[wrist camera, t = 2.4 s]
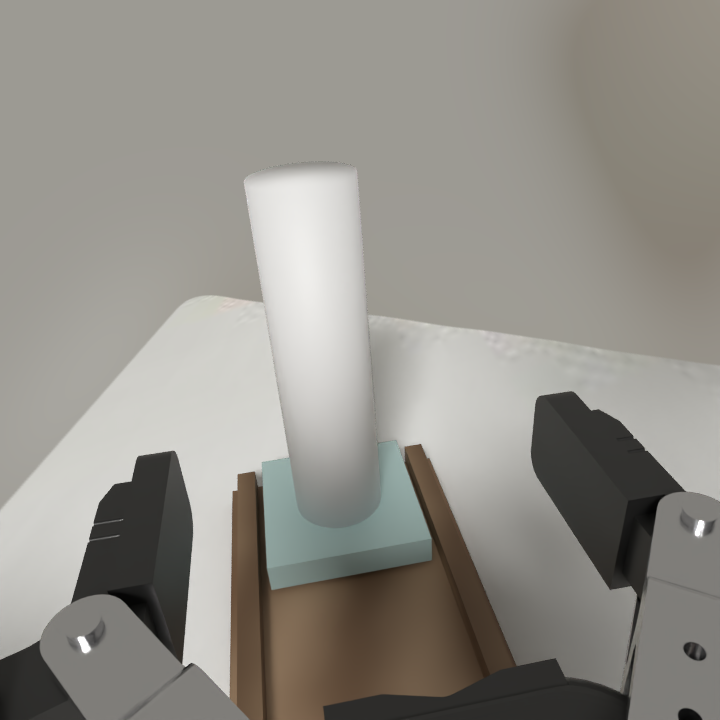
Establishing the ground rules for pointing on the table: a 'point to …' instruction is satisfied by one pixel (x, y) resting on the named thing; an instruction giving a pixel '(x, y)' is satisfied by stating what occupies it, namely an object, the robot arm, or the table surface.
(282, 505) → the keeper
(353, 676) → the rail board
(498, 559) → the table surface
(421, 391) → the table surface
